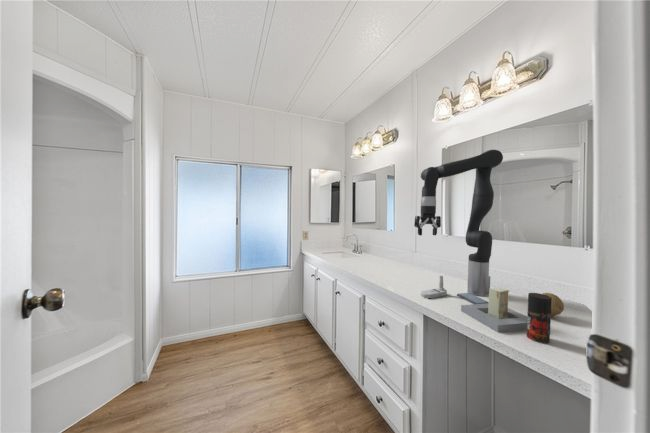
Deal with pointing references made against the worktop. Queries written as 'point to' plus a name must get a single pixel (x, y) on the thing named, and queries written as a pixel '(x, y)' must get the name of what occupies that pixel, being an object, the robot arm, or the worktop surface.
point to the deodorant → (539, 317)
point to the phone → (472, 298)
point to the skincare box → (498, 303)
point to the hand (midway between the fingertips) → (427, 235)
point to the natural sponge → (555, 304)
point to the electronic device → (435, 291)
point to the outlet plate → (500, 325)
